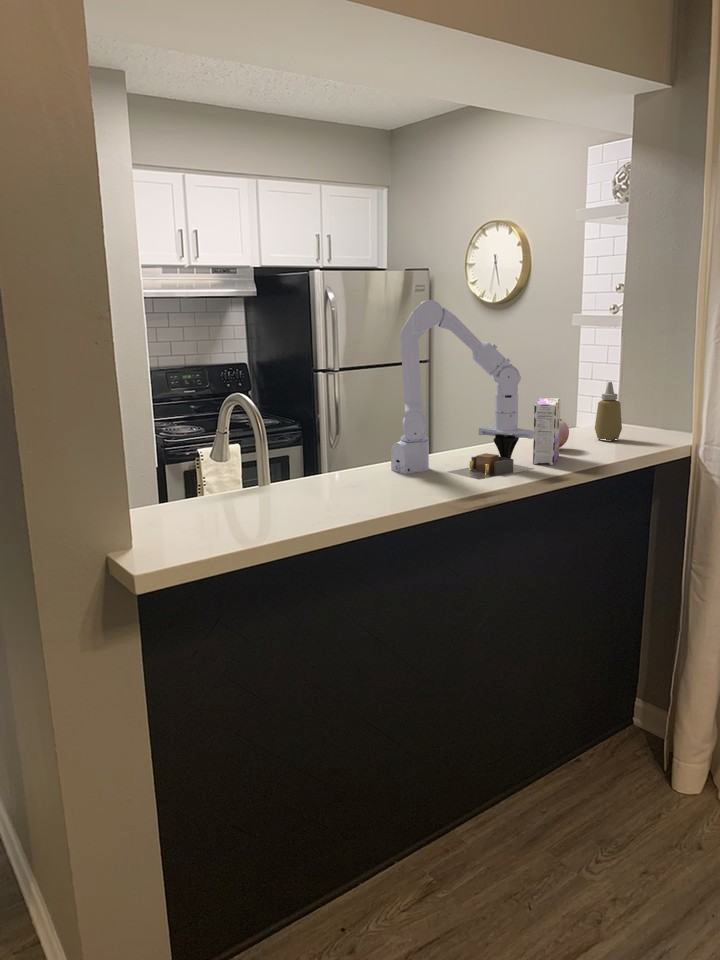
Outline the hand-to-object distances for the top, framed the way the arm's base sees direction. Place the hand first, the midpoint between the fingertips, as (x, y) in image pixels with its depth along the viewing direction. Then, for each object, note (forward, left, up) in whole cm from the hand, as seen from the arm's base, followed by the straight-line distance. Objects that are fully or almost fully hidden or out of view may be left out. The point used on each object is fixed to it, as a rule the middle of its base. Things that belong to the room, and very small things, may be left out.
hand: (505, 464), depth 201 cm
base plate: (-5, 0, -2) cm, 6 cm away
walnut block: (-6, 0, -1) cm, 6 cm away
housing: (-5, 0, -1) cm, 5 cm away
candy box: (+19, +4, -2) cm, 20 cm away
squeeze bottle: (+56, +13, -2) cm, 58 cm away
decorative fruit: (+32, +13, -2) cm, 35 cm away
